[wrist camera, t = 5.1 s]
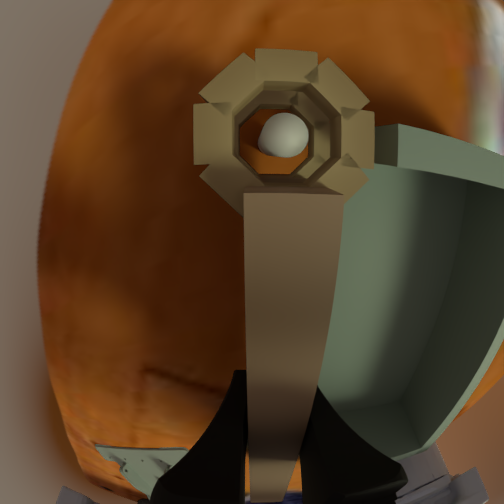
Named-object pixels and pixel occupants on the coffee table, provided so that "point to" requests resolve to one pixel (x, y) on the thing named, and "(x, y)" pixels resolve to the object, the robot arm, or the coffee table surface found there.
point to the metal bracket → (143, 463)
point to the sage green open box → (411, 283)
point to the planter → (144, 501)
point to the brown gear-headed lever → (285, 235)
